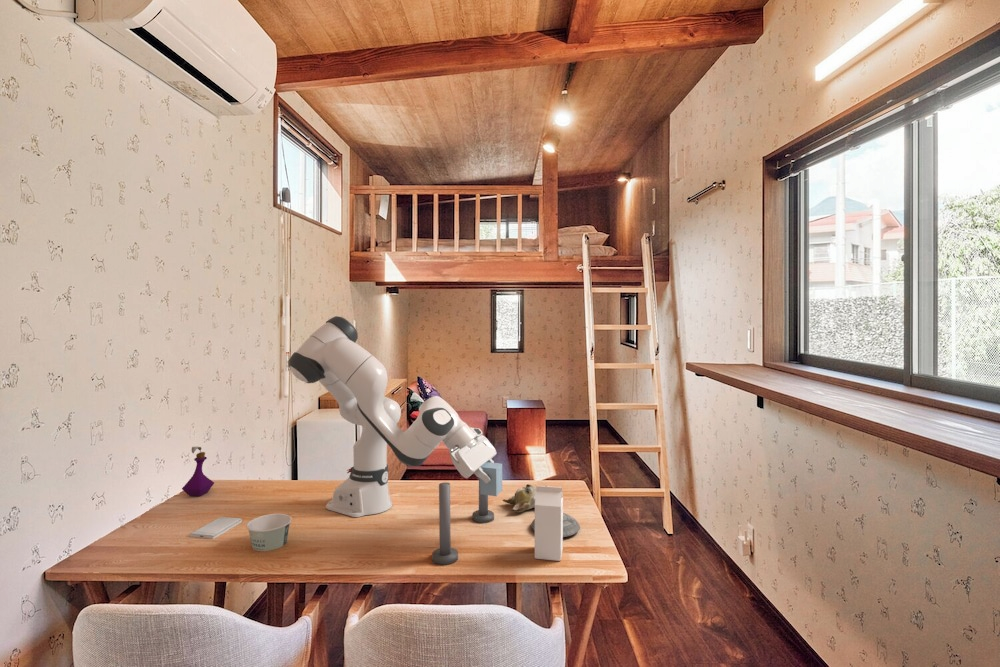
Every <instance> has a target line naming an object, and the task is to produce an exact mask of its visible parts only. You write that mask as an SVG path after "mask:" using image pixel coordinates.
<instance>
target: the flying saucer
mask: <svg viewBox="0 0 1000 667" xmlns="http://www.w3.org/2000/svg"><path fill="white" fill-rule="evenodd" d="M530 527H531V528H532V530H533V531H534V532H535V518H533V520H532V521H531V524H530ZM580 530H581V526H580V524H579V522H578V520H576V518H574V517H573V516H571V515H569V514H567V513H564V512H563V538H565V537H566V538H567V537H571V536H573V535H576V534H577V533H578V532H579V531H580Z"/></svg>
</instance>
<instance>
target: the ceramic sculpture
mask: <svg viewBox="0 0 1000 667" xmlns="http://www.w3.org/2000/svg"><path fill="white" fill-rule="evenodd" d="M535 497H536V487H535V485H531V484H526V485H525V487H519V488H518V489H517V490H516V491H515V493H514V495H513V496H511V497H509V498H508V499H502V501H503V502H504V503H506V504H509V505H512V506H513V507H512V508H511V509H510V511H511V512H514V513H523V512H524V511H528V510H531V509H535Z"/></svg>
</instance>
